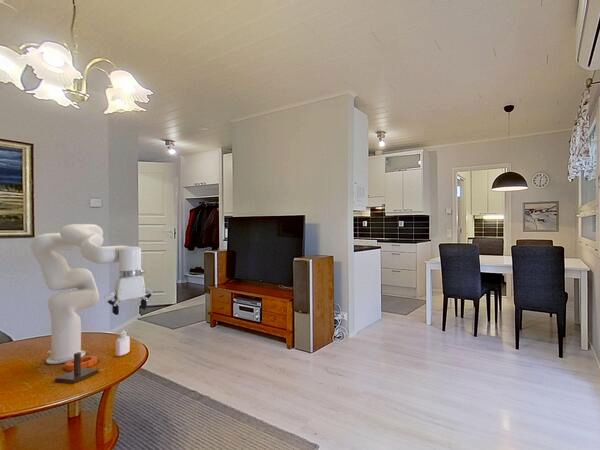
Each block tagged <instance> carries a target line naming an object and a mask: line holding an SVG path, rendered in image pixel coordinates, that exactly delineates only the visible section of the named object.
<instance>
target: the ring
mask: <svg viewBox="0 0 600 450" xmlns="http://www.w3.org/2000/svg"><path fill="white" fill-rule="evenodd" d="M98 359H99V358H98V355H94V354H93V355H92V354H91V355H84V356H83V357H81V368H91V367H93V366H95V365H97V364H98V362H99V361H98ZM64 370H65V371H67V372H71V371H74V359H72V360H70V361H68V362H65V363H64Z"/></svg>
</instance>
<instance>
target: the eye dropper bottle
mask: <svg viewBox="0 0 600 450" xmlns="http://www.w3.org/2000/svg"><path fill="white" fill-rule="evenodd" d="M130 351H131V337H130V336H129V335H127V331H125V329H121V331H120V332H119V337H118V338H117V339H116V341H115V357H122V356H125V355H127V354H129V353H130Z"/></svg>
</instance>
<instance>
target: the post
mask: <svg viewBox="0 0 600 450" xmlns="http://www.w3.org/2000/svg"><path fill="white" fill-rule="evenodd" d="M99 371H100V370H99V369H98V368H91V367H87V368H81V352H78V353H75V354H74V371H68V372H67V373H64V374H61V375H59V376H56V377H55V378H54V382H55V383H65V384H66V383H67V384H76V383H78V382H81V381H83V380H85V379H87V378H89V377H92V376H94V375H96V374H98V373H99Z"/></svg>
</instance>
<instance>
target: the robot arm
mask: <svg viewBox="0 0 600 450" xmlns="http://www.w3.org/2000/svg"><path fill="white" fill-rule="evenodd" d="M104 239H105V238H104V231H103V228H102V227H100V226H99V225H97V224H94V223H72V224H67V225H65V226H63V227H61V229H60V231H59V232H48V233H42V234H39V235H36V236H35V237H33V239H32V241H31V242H30V249H31V253H32V255H33V257H34V258H35V260H36V261H37V263H38V264H39V266H40V269H41V272H42V275H43V279H44V281H45V284H46V287H47V288H48V289H49V290H50V291H53V292H54V291H63V290H68V291H63V292H59V293H55V294H54V295H52V296H51V297H49V299H48V301H47V307H48V310H49V314H50V333H51V334H50V336H51V338H50V341H51V343H50V345H51V346H50V350H48V351H46V355H49V357H48V358H47V359H46V360H45V363H46V364H47V365H48V364H49V365H59V364H65V363H66V362H68V361H70V360H72V359H74V354H75V353H78V352H81V357H83V356H86V351H85V350H82V318H81V317H80V315H79V314H78V313H77V312H76V311H78V310H82V309H86V308H90V307H94V306H95V305H97V304H98V303H99V301H100V291H99V289H98V286H97V283H96V280H95V278H94V275H93V273H92V271H91V270H89V269H88V268H85V267H76V268H70V266H69V263H68V261H67V259H66V257H64V256H63V255H62V254H60V253H58V251H72V250H80V254H81V255H82V257H83V258H84V259H85V260H87V261H90V262H92V263H94V264H99V265H104V264H112V263H118V270H119V271H118V277H116V279H115V282H114V287H113V291H112V292H111V293H109V294H107V295H105V296H104V300H105V301H106V303H108V304H109V305H111V306H112V307H111V308H112V314H113V315H115V316H118V315H119V313H120V312H119V311H120V305H119V304H120V303H121V302H123V301H128V300H134V299H141V300H140V309H141V310H146V308H147V305H148V304H147V303H148V302H147V301H148V300H149V299H150V298H151V297H152V294H153V293H154V289H152V288H148V287H146V284H145V279H144V275H143V274H145V272H146V270H145V269H143V268H142V248H141V246H140V247H139V246H134V245H133V246H132V245H131V246H130V245H122V244H121V245H108V246H107V245H106V246H102V245H103V244H104V241H105V240H104ZM69 289H73V290H69ZM146 292H147V294H146ZM111 298H113V299H114V300H112V299H111Z"/></svg>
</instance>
